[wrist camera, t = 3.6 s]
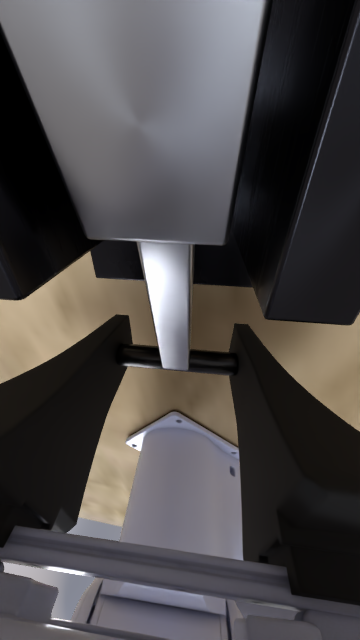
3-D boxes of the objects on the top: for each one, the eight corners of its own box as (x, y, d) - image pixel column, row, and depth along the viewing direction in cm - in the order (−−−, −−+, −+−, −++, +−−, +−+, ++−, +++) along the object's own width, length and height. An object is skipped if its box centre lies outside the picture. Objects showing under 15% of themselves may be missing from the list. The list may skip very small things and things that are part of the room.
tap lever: (232, 344, 10) (234, 396, 9) (128, 336, 11) (115, 384, 9) (405, -125, 2) (698, -330, 1) (-45, -92, 3) (-338, -200, 1)
